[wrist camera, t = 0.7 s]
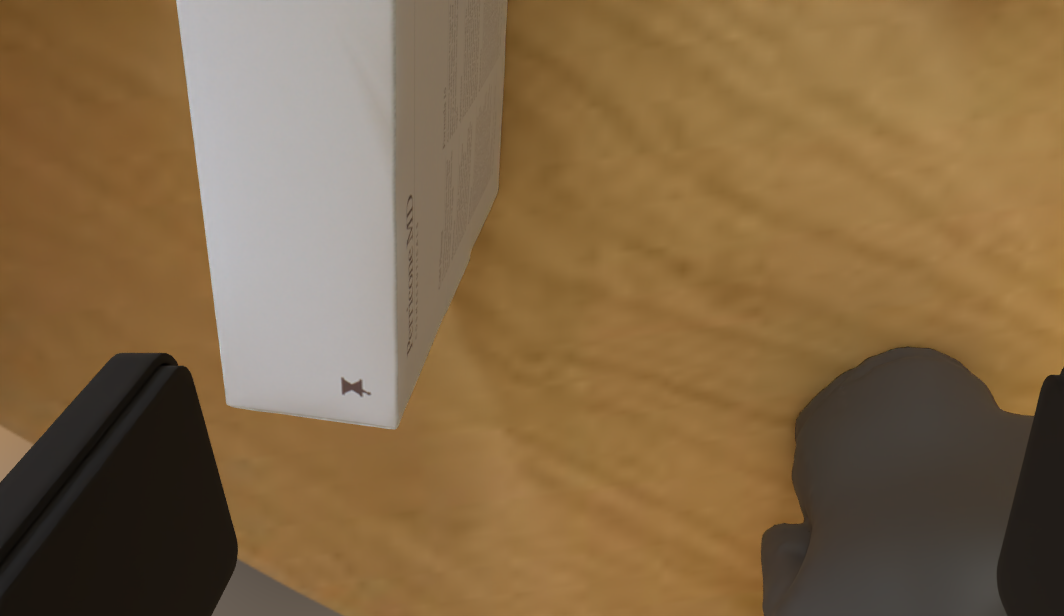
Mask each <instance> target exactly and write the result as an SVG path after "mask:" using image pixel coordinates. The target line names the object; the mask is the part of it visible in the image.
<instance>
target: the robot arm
mask: <svg viewBox="0 0 1064 616" xmlns="http://www.w3.org/2000/svg"><path fill="white" fill-rule="evenodd" d="M237 554H238V544H237V538H236V534H235V531H234V527H233V523H232V520H231V516H230V512H229V509H228V505H227V501H226V498H225V494H224V490H223V487H222V483H221V479H220V476H219V472H218V469H217V465H216V461H215V458H214V454H213V450H212V447H211V443H210V439H209V436H208V432H207V428H206V425H205V421H204V417H203V414H202V410H201V406H200V403H199V399H198V396H197V392H196V388H195V385H194V381H193V378H192V375H191V372H190V371H189V370H188V368H187V367H184V366H178V364H177V362H176V360H175V359H174V358H173V357H172V356H171V355H169V354H167V353H119V354H116V355H115V356H113V357H112V358H111V359H110V360H109V361H108V362H107V363H106V364H105V366H104V367H103V368H102V369H101V370H100V371H99V372H98V373H97V375H96V376H95V377H94V378H93V379H92V380H91V381H90V382H89V384H88V385H87V386H86V387H85V388H84V389H83V390H82V391H81V392H80V394H79V395H78V396H77V397H76V398H75V399H74V400H73V401H72V403H71V404H70V405H69V406H68V407H67V408H66V409H65V410H64V412H63V413H62V414H61V415H60V416H59V417H58V418H57V419H56V421H55V422H54V423H53V424H52V425H51V426H50V427H49V428H48V430H47V431H46V432H45V433H44V434H43V435H42V436H41V437H40V439H39V440H38V441H37V442H36V443H35V444H34V445H33V446H32V448H31V449H30V450H29V451H28V452H27V453H26V454H25V455H24V457H23V458H22V459H21V460H20V461H19V462H18V463H17V464H16V466H15V467H14V468H13V469H12V470H11V471H10V472H9V474H8V475H7V476H6V477H5V478H4V479H3V480H2V481H1V482H0V616H211V615H212V613H213V611H214V609H215V607H216V605H217V603H218V601H219V600H220V597H221V595H222V594H223V591H224V590H225V588H226V586H227V584H228V582H229V580H230V578H231V576H232V574H233V571H234V569H235V566H236V561H237ZM997 587H998V592H999V596H1000V599H1001V602H1002V604H1003V607H1004V609H1005V611H1006V614H1007V616H1064V368H1063V369H1062V371H1061V374H1060V375H1050V376H1048V377H1047V378H1046V379H1045V380H1044V382H1043V385H1042V388H1041V391H1040V395H1039V399H1038V403H1037V407H1036V411H1035V415H1034V419H1033V423H1032V427H1031V431H1030V435H1029V439H1028V443H1027V447H1026V451H1025V456H1024V460H1023V464H1022V468H1021V472H1020V476H1019V480H1018V484H1017V488H1016V492H1015V496H1014V500H1013V504H1012V508H1011V512H1010V516H1009V520H1008V524H1007V528H1006V532H1005V536H1004V540H1003V544H1002V548H1001V552H1000V556H999V560H998V565H997Z"/></svg>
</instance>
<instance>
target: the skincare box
mask: <svg viewBox="0 0 1064 616" xmlns="http://www.w3.org/2000/svg"><path fill="white" fill-rule="evenodd" d="M176 3H177V11H178V19H179V27H180V35H181V43H182V51H183V59H184V67H185V75H186V82H187V90H188V98H189V106H190V114H191V122H192V130H193V138H194V146H195V154H196V162H197V170H198V177H199V185H200V193H201V201H202V209H203V217H204V225H205V233H206V241H207V250H208V258H209V266H210V274H211V282H212V290H213V298H214V306H215V314H216V322H217V330H218V338H219V347H220V355H221V363H222V371H223V379H224V387H225V395H226V404H227V405H229V406H232V407H235V408H241V409H248V410H254V411H261V412H270V413H279V414H286V415H292V416H299V417H306V418H314V419H321V420H328V421H335V422H342V423H350V424H357V425H365V426H372V427H379V428H385V429H396V428H397V427H398V426H399V424H400V421H401V418H402V415H403V413H404V410H405V408H406V406H407V403H408V401H409V399H410V396H411V394H412V392H413V389H414V387H415V384H416V382H417V380H418V377H419V375H420V372H421V370H422V368H423V365H424V363H425V360H426V358H427V356H428V353H429V351H430V348H431V346H432V344H433V341H434V339H435V336H436V334H437V331H438V329H439V326H440V324H441V322H442V319H443V317H444V315H445V314H446V312H447V310H448V308H449V305H450V303H451V301H452V298H453V296H454V294H455V292H456V289H457V287H458V285H459V283H460V280H461V278H462V276H463V274H464V272H465V270H466V267H467V265H468V263H469V261H470V255H471V250H472V248H473V246H474V244H475V242H476V239H477V237H478V235H479V233H480V231H481V229H482V227H483V225H484V222H485V220H486V218H487V216H488V214H489V212H490V209H491V207H492V204H493V202H494V200H495V198H496V196H497V193H498V190H499V166H500V146H501V128H502V111H503V93H504V73H505V42H506V23H507V6H508V0H176Z"/></svg>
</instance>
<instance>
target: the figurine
mask: <svg viewBox="0 0 1064 616" xmlns="http://www.w3.org/2000/svg"><path fill="white" fill-rule="evenodd" d="M1033 419H1034V416H1026V415H1019V414H1013V413H1009V412H1006V411H1003V410H1001V409H1000V408H999V407H998V405H997V404H996V402H995V400H994V398H993V396H992V394H991V392H990V390H989V389H988V387H987V386H986V385H985V383H984V382H982V381H981V380H980V379H979V378H978V377H976V376H975V375H973V374H972V373H971V372H970V371H969V370H968V369H967V368H966V367H964V366H963V365H962V364H961V363H960V362H959V361H957V360H956V359H954V358H951V357H950V356H948V355H946V354H943V353H940V352H938V351H936V350H933V349H929V348H910V347H906V348H896V349H893V350H889V351H887V352H885V353H882V354H880V355H877V356H873V357H870V358H868V359H866V360H865V361H863V362H862V363H861V364H860V365H859V366H857V367H856V368H853V369H851V370H849V371H847V372H845V373H843V374H842V375H840V376H839V377H837V378H836V379H835V380H834V381H833V382H832V383H830V384H829V385H828V386H827V387H826V388H825V389H823V390H822V391H821V392H820V393H819V394H818V395H817V396H816V397H815V398H813V399H812V401H811V402H810V403H809V404H808V405H807V406H806V407H805V408H804V409H803V410H802V411H801V412H800V413H799V416H798V417H797V419H796V427H795V439H796V449H795V455H794V463H793V468H792V481H793V486H794V489H795V492H796V495H797V497H798V500H799V504H800V507H801V510H802V513H803V515H804V522H803V523H801V524H786V523H783V524H778V525H774V526H773V527H771V528H770V529H768V530H766V531H765V533H764V534H763V537H762V543H761V562H762V574H763V613H764V616H1007V614H1006V611H1005V609H1004V607H1003V604H1002V602H1001V599H1000V596H999V592H998V587H997V565H998V560H999V556H1000V552H1001V548H1002V544H1003V540H1004V536H1005V532H1006V528H1007V524H1008V520H1009V516H1010V512H1011V508H1012V504H1013V500H1014V496H1015V492H1016V488H1017V484H1018V480H1019V476H1020V472H1021V468H1022V464H1023V460H1024V456H1025V451H1026V447H1027V443H1028V439H1029V435H1030V431H1031V427H1032V423H1033Z"/></svg>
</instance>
